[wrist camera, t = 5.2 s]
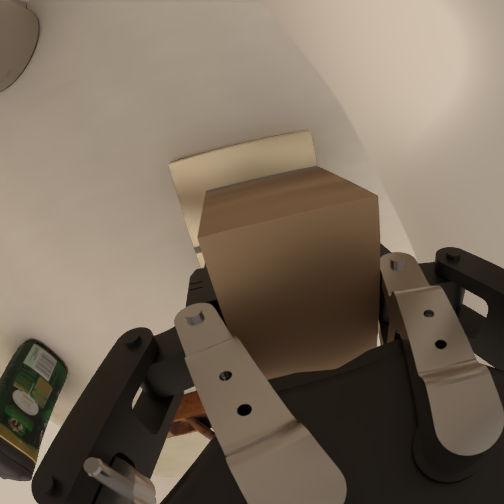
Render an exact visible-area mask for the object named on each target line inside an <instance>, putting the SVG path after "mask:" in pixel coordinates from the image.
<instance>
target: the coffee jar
mask: <svg viewBox="0 0 504 504" xmlns="http://www.w3.org/2000/svg"><path fill="white" fill-rule="evenodd" d="M66 377H67V373H66V370H65V368H64V367H63V365H62V364H61V363H60V361H59V360H58V359H57V358H56V357H55V356H54V355H53V354H52V353H51V352H50V351H49V350H47V349H46V348H44V347H42V346H41V345H39V344H37V343H35V342H32V341H29V342H26V343H24V344H23V345H21V346H20V347H19V348H18V349H17V351H16V352H15V354H14V355H13V357H12V359H11V360H10V362H9V363H8V365H7V367H6V369H5V371H4V373H3V375H2V376H1V378H0V477H1V478H3V479H11V480H17V481H30V480H31V479H32V475H33V472H34V468H35V465H36V462H37V457H38V452H39V449H40V445H41V441H42V438H43V435H44V432H45V429H46V427H47V424H48V421H49V418H50V416H51V413H52V411H53V408H54V406H55V403H56V401H57V398H58V396H59V394H60V391H61V389H62V387H63V385H64V382H65V380H66Z"/></svg>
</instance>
